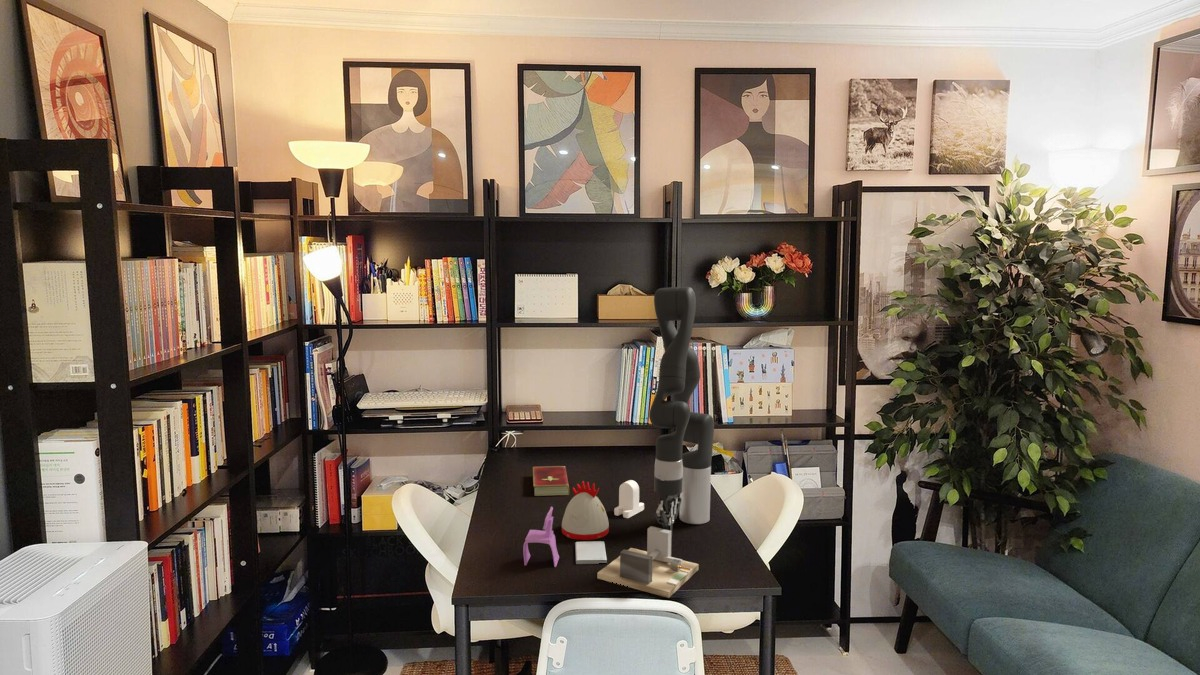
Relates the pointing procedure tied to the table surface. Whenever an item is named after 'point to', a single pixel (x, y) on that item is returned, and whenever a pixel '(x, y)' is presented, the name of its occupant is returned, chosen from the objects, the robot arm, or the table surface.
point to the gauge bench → (656, 576)
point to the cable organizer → (628, 500)
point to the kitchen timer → (585, 515)
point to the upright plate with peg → (659, 544)
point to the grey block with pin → (677, 565)
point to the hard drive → (590, 552)
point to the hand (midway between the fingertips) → (667, 536)
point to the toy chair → (542, 538)
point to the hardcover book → (550, 481)
